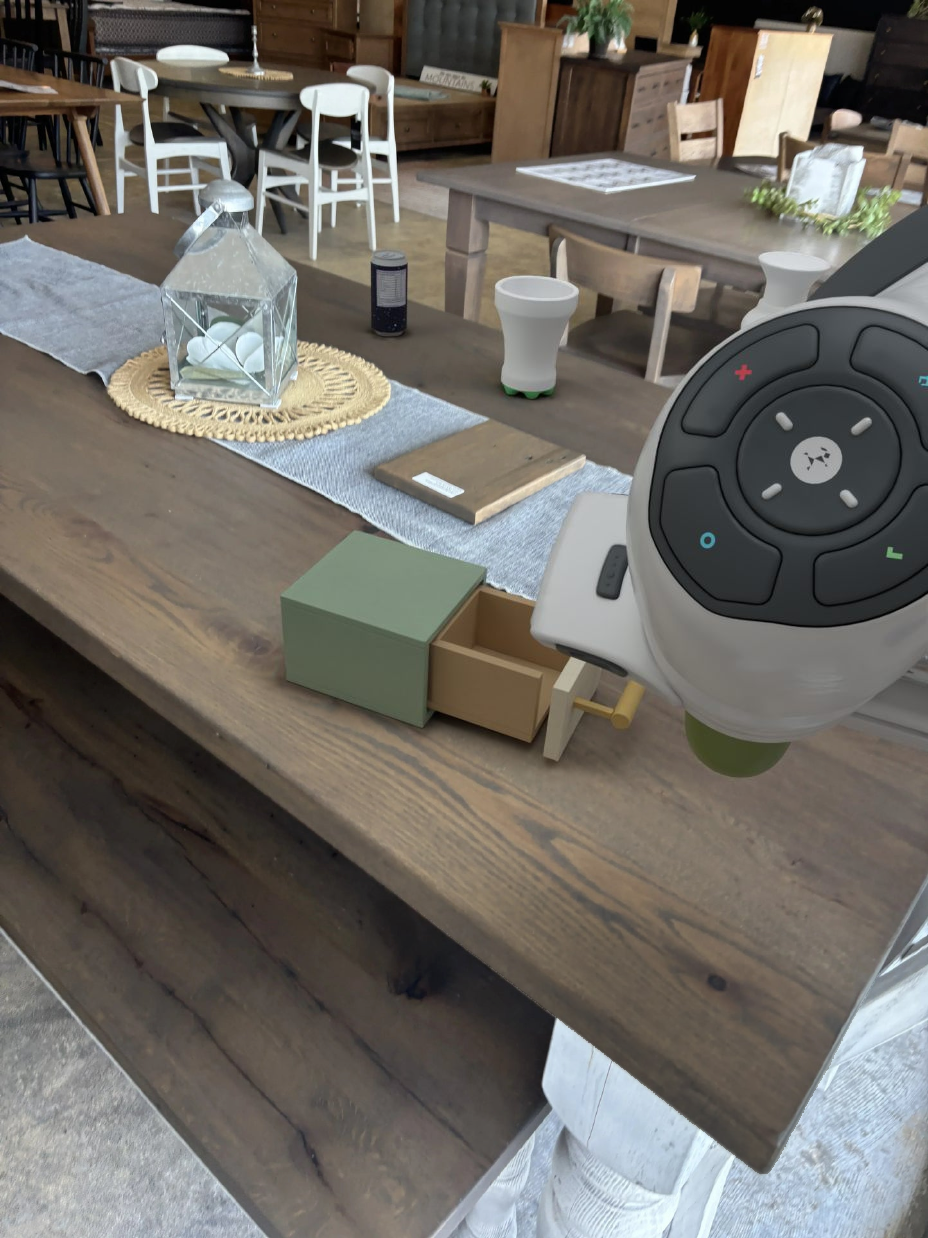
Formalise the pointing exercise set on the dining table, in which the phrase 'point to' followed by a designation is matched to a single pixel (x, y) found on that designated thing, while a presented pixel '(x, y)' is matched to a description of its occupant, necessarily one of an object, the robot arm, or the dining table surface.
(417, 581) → the cabinet
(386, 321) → the beverage can
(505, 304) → the cup
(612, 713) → the drawer
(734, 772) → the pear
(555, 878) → the dining table surface
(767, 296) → the vase
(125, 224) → the dining table surface
